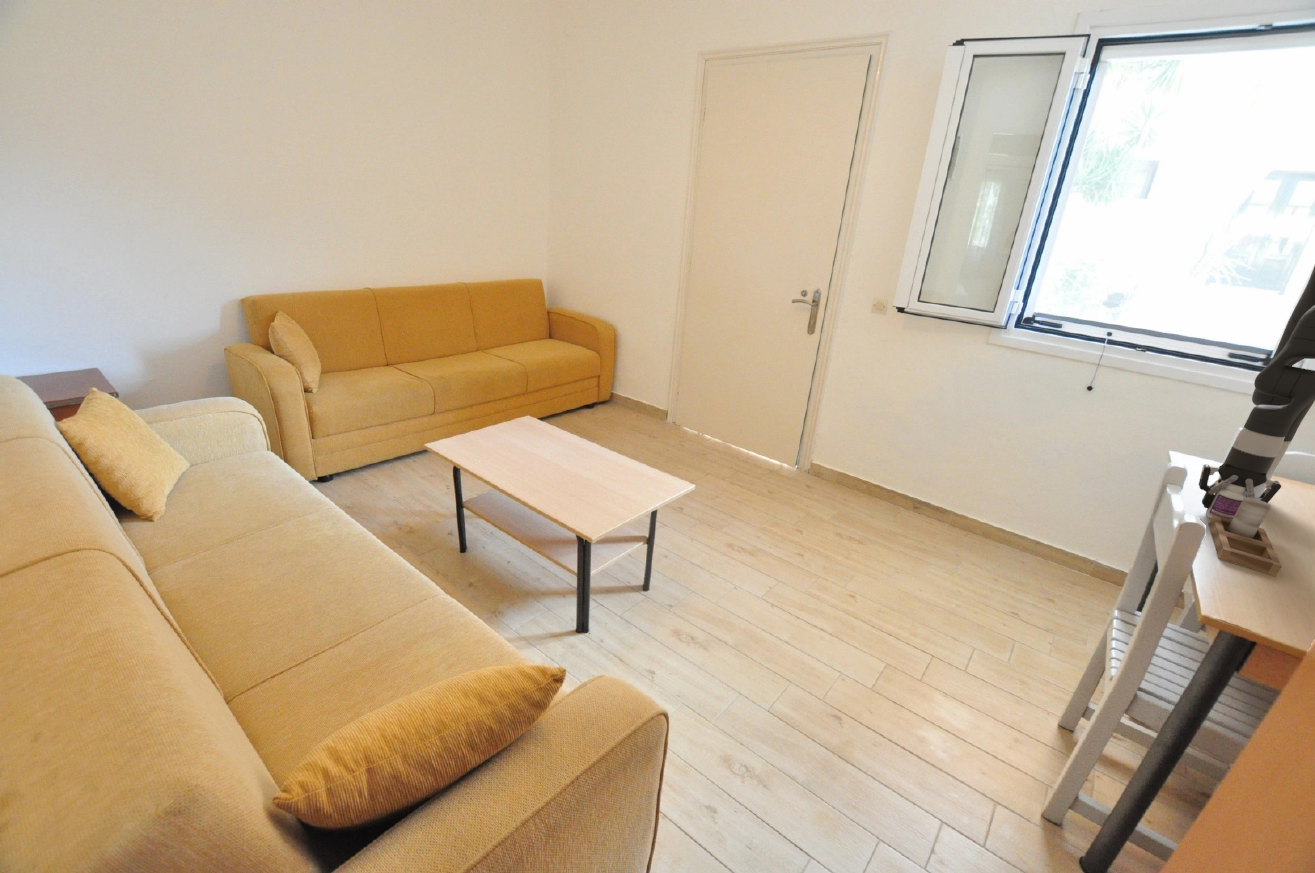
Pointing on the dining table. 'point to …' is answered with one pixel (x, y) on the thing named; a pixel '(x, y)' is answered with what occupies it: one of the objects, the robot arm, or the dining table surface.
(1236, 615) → the dining table surface
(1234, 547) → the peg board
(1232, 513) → the pill bottle
